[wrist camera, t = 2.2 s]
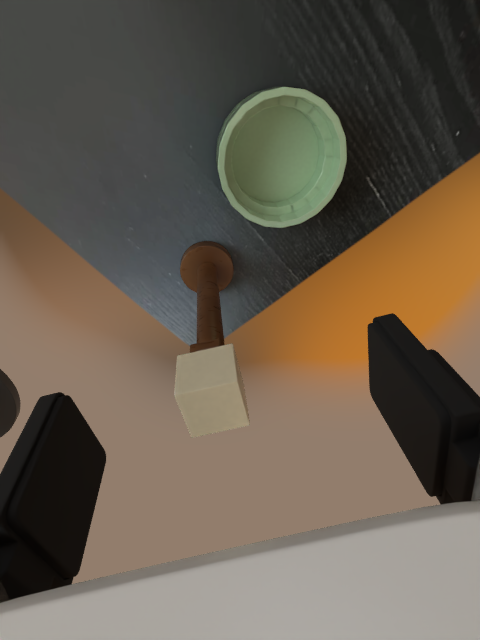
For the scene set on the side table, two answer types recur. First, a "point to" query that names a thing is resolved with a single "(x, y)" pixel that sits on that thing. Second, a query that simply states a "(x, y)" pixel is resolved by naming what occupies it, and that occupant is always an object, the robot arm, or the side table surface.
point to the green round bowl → (281, 156)
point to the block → (211, 391)
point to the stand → (207, 289)
